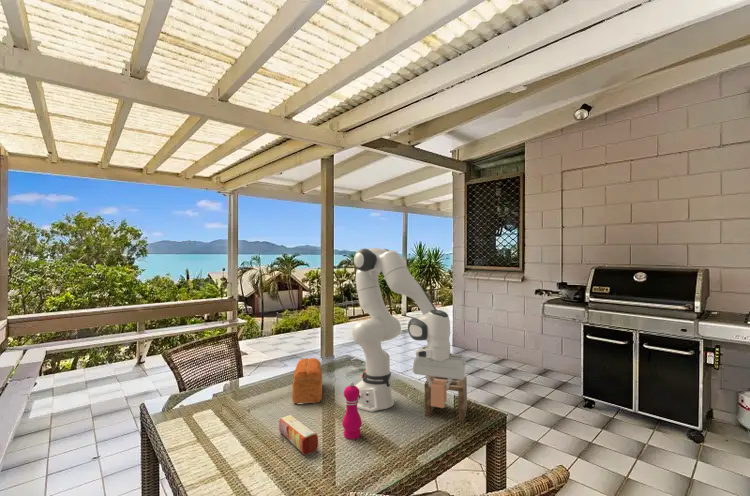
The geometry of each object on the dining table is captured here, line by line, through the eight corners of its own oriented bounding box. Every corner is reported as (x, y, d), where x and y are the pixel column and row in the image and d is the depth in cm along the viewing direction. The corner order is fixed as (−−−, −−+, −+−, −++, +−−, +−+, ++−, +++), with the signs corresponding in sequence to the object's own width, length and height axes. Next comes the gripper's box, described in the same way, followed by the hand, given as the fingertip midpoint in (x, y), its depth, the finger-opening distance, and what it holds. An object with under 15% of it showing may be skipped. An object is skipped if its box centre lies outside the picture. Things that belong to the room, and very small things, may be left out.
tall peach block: (430, 406, 134) (430, 385, 134) (434, 398, 140) (434, 379, 140) (443, 408, 132) (443, 386, 132) (446, 400, 138) (446, 380, 138)
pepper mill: (359, 440, 127) (358, 385, 128) (340, 439, 129) (339, 384, 129) (363, 431, 135) (362, 379, 135) (345, 429, 136) (345, 378, 137)
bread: (322, 383, 188) (322, 355, 188) (322, 403, 161) (321, 370, 162) (296, 384, 186) (295, 356, 186) (291, 405, 159) (290, 372, 160)
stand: (425, 416, 146) (424, 383, 147) (431, 402, 160) (430, 372, 160) (464, 421, 141) (463, 387, 141) (467, 407, 154) (466, 376, 155)
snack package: (277, 433, 134) (277, 416, 134) (293, 428, 138) (293, 411, 138) (302, 458, 117) (302, 438, 118) (319, 451, 121) (319, 431, 122)
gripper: (466, 352, 136) (466, 388, 135) (415, 347, 143) (415, 381, 142) (465, 357, 130) (465, 394, 130) (411, 351, 137) (411, 387, 137)
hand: (438, 387), depth 136 cm, fingers closed on tall peach block, 5 cm apart
